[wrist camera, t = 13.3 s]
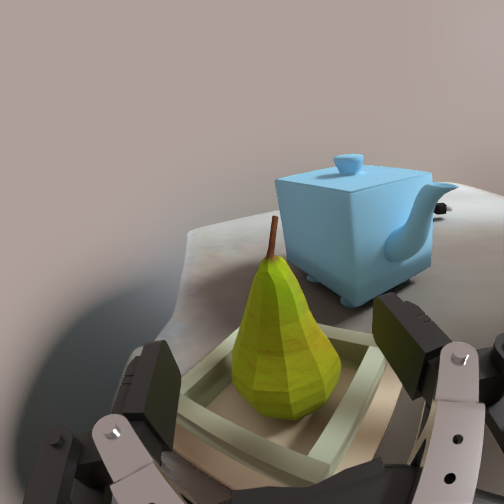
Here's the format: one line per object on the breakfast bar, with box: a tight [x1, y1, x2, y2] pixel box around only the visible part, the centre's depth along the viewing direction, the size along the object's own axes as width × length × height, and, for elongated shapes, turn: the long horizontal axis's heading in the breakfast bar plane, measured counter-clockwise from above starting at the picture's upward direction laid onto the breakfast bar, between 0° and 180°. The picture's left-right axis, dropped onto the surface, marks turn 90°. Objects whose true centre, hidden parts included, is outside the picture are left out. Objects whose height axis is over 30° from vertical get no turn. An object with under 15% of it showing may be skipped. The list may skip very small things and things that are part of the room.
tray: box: [173, 323, 403, 490], centre depth 17 cm, size 14×14×4 cm
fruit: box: [232, 216, 342, 421], centre depth 15 cm, size 6×6×12 cm
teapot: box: [275, 154, 458, 307], centre depth 28 cm, size 22×11×14 cm, turn 22°
